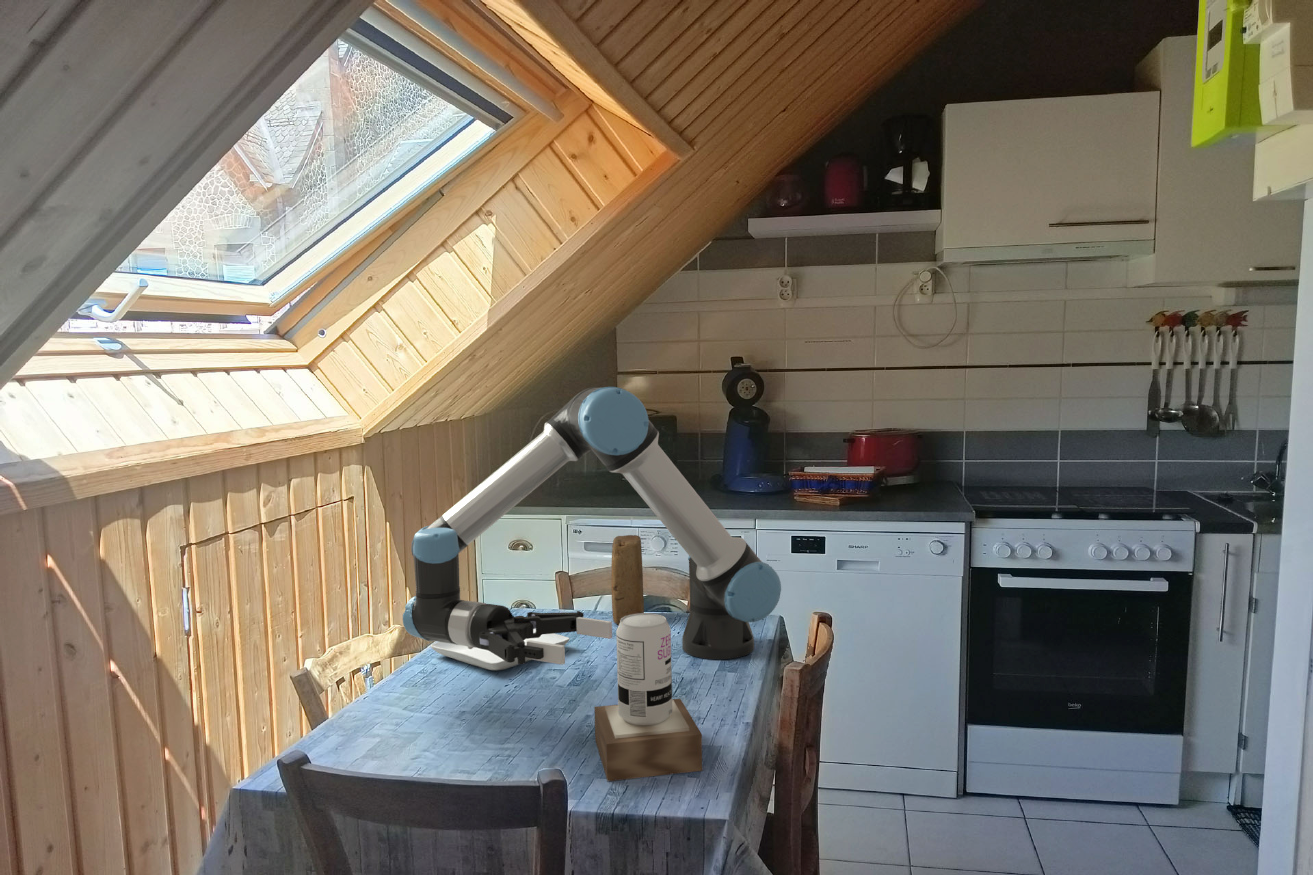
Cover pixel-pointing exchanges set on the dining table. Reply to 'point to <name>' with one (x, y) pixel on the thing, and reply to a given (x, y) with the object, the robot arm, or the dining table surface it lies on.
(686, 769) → the walnut pedestal
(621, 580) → the block
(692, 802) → the dining table surface
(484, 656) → the salad plate
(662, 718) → the supplement can
